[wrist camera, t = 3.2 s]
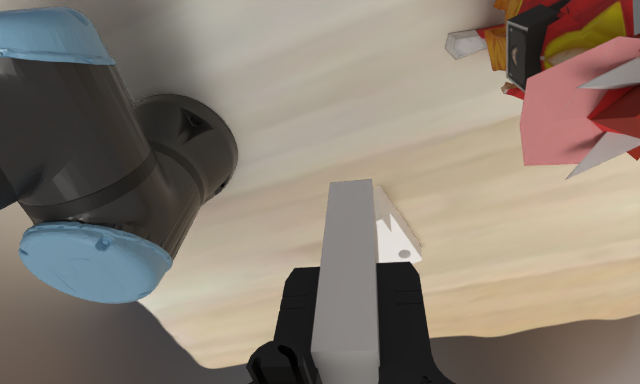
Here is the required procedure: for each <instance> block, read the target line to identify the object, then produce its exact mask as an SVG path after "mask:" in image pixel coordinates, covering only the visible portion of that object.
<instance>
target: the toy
mask: <svg viewBox="0 0 640 384" xmlns="http://www.w3.org/2000/svg"><path fill="white" fill-rule="evenodd" d="M493 7H494V8H497V9H499V10H505V24H500V25H495V26H490V27H486V28H481V29H476V30H469V31H462V32H455V33H448V37H447V41H446V45H445V49H446V50H447V51H448V52H449V53H450V54H451V55H452V56H453V57H454V59H455V60H457V59H460V58H462V57H465V56H468V55H470V54H473V53H475V52H478V51H480V50H483V49H486V48H488V51H489V56H490V60H491V65H492V69H493V71H497V70H503V71H506V77H507V78H508V79H509V80H510V81H511V82H513V84H511V83H508V82H506V83H505V85H504V86H503V87H502V88H501V89H502V92H503V94H508V95H512V96H515V97H517V98H520V99H522V100H524V102H523V108H522V114H521V121H520V131H521V140H522V149H523V158H524V166H528V165H559V164H578V166H577V167H576V168H575V169H574V170H573V171H572V172H571V174H570V175H569V176H568V177H567V178H566V179H568V178H571V177H573V176H575V175H577V174H579V173H581V172H584V171H586V170H588V169H590V168H592V167H594V166H597V165H599V164H601V163H603V162H605V161H607V160H610V159H612V158H614V157H616V156H618V155H620V154H623V153H625V152H627V153H628V154H630V155H631V156H632V157H633V158H635V159H636V160H638V159H639V158H640V33H639V34H637V35H634V20H633V0H496V2H495V4H494V6H493ZM514 84H515V85H514ZM566 179H565V180H566Z"/></svg>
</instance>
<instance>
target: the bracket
mask: <svg viewBox="0 0 640 384" xmlns="http://www.w3.org/2000/svg"><path fill="white" fill-rule="evenodd" d="M373 196H374V205H375V215H376V224H377V234H378V253H379V263H387V262H408V261H410V262H411V264H413V263H416V262H419V261H421V260H423V258H422V252H421V247H420V243H419V242H418V240H417V239H416V238H415V236H414V235H413V233H412V232H411V230H410V229H409V227H408V226H407V224H406V223H405V221H404V220H403V218H402V217H401V215H400V214H399V213H398V211H397V210H396V208H395V207H394V205H393V204H392V202H391V201H390V199H389V198H388V196H387V195H386V193H385V192H384V190H383V189H382V188H381V186H380V185H378V186H376V187H374V188H373Z"/></svg>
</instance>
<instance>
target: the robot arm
mask: <svg viewBox="0 0 640 384" xmlns="http://www.w3.org/2000/svg"><path fill="white" fill-rule="evenodd" d="M115 65H116V61H115V60H114V59H113V58H112V57H110V55H109V53H108V51H107V50H106V48H105V46H104V44H103V42H102V40H101V38H100V36H99V34H98V32H97V30H96V28H95V26H94V25H93V23H92V22H91V21H90V19H88V18H87V17H86V16H85V15H84V14H82V13H81V12H79V11H77V10H75V9H72V8H68V7H46V8H33V9H21V10H10V11H0V210H1V209H3V208H5V207H7V206H8V205H10V204H12V203H14V202H16V201H18V203H19V204H20V205H21V207H22V208H23V209H24V211H25V212H26V213H27V215H28V216H29V217H30V219H31V220H32V221H33V224H34V225H33V226H32V227H30V228H28V229H27V230H26V231H25V232H24V234H23V239H22V240H21V242H20V248H19V256H20V258H21V260H22V262H23V263H24V265H25V266H26V267H27V269H28V270H29V271H30V272H31V273H32V274H33V275H35V276H36V277H37V278H39V279H40V280H41V281H43V282H45V283H46V284H48V285H50V286H52V287H53V288H55V289H57V290H59V291H62V292H64V293H66V294H69V295H72V296H76V297H78V298H81V299H85V300H89V301H94V302H100V303H127V302H132V301H136V300H139V299H141V298H144V297H145V296H147V295H149V294H150V293H151V292H152V291H153V290H154V289H155V288H156V287H157V285H158V284H159V282H160V280H161V279H162V277H163V276H164V274H165V272H167V271H168V270H169V269H170V268H171V266H172V263H173V260H174V258H175V256H176V254H177V252H178V250H179V248H180V246H181V244H182V242H183V240H184V238H185V236H186V234H187V232H188V230H189V228H190V227H191V225H192V223H193V221H194V219H195V217H196V215H197V213H198V211H199V209H200V207H201V206H202V205H203V204H204V203H206V202H207V201H208V200H210V199H211V198H213V197H214V196H215V195H217V194H218V193H219V192H221V191H222V190H223V189H224V188H225V187H226V185H227V184H228V183H229V181H230V179H231V177H232V175H233V173H234V171H235V168H236V165H237V147H236V143H235V140H234V138H233V135H232V133H231V132H230V130H229V128H228V127H227V125H226V124H225V123H224V122H223V120H222V119H221V118H220V117H219V116H218V115H217V114H216V113H214V112H213V111H212V110H211V109H209V108H208V107H206V106H205V105H203V104H201V103H200V102H197V101H195V100H193V99H190V98H187V97H184V96H180V95H173V94H162V95H155V96H152V97H149V98H147V99H144V100H143V101H141V102H140V103H138V104H137V105H136V106H135V107H134V106H133V104H132V102H131V99H130V97H129V95H128V93H127V91H126V88H125V86H124V84H123V82H122V79H121V77H120V75H119V73H118V71H117V68H116V66H115ZM282 297H283V299H282V300H281V305H280V311H279V315H278V320H277V325H276V330H275V335H274V340H273V341H270V342H267V343H266V344H264V345H262V346H260V347H259V348H258V349H257V350H256V351H255V352H254V353H253V354H252V355H251V357H250V359H249V361H248V364H247V366H246V367H247V369H248V372H249V373H250V375H251V377H252V379H253V381H252V382H251V383H249V384H455V383H453V382H452V381H450V380H449V379H448V378H446V377H445V376H444V375H443V374H442V373H441V372H440V371H439V369H438V368H437V366H436V364H435V363H434V360H433V357H432V353H431V347H430V340H429V334H428V328H427V321H426V315H425V308H424V302H423V296H422V289H421V283H420V277H419V274H418V272H417V271H416V269H415V268H414V267H413V265H412V264H411V262H410V261H408V262H387V263H379V253H378V234H377V224H376V215H375V205H374V196H373V186H372V179H367V180H355V181H344V182H332V183H330V187H329V196H328V205H327V213H326V222H325V231H324V239H323V248H322V257H321V265H320V267H305V268H294V269H293V271H292V272H291V274H290V275H289V277H288V278H287V280H286V281H285V286H284V291H283V296H282Z"/></svg>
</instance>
